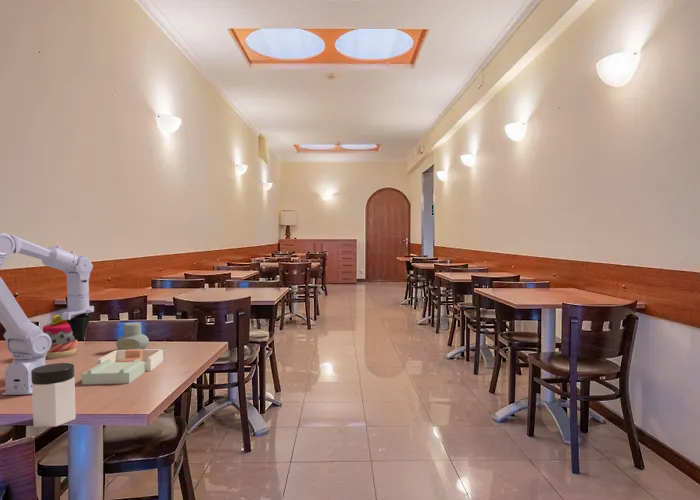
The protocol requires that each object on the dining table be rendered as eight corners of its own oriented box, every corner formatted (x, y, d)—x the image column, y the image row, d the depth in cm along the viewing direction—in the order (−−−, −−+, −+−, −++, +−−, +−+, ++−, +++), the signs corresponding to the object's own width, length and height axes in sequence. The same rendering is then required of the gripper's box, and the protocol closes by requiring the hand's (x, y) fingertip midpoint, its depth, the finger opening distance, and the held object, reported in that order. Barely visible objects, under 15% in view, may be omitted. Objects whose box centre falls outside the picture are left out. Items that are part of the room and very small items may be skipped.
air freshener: (113, 353, 165) (112, 326, 165) (121, 348, 174) (120, 322, 173) (144, 352, 167) (144, 325, 167) (151, 347, 175) (151, 321, 175)
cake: (35, 358, 160) (34, 315, 160) (61, 351, 170) (60, 310, 170) (60, 359, 158) (59, 316, 157) (84, 352, 168) (83, 311, 168)
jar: (84, 412, 108) (82, 362, 108) (66, 426, 100) (64, 371, 100) (43, 414, 108) (42, 363, 107) (22, 428, 99) (20, 373, 99)
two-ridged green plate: (129, 383, 131) (129, 369, 131) (82, 384, 130) (81, 370, 130) (145, 371, 143) (145, 358, 142) (102, 372, 142) (102, 359, 142)
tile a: (134, 368, 144) (134, 360, 144) (119, 368, 144) (119, 360, 144) (140, 364, 149) (139, 356, 149) (125, 365, 149) (125, 357, 148)
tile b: (139, 350, 149) (142, 348, 151) (125, 351, 148) (128, 349, 151) (139, 364, 149) (142, 362, 151) (125, 364, 149) (128, 362, 151)
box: (150, 371, 143) (150, 358, 143) (97, 372, 142) (97, 359, 142) (164, 360, 155) (164, 349, 155) (115, 362, 154) (115, 350, 154)
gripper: (79, 297, 134) (80, 344, 134) (103, 291, 148) (104, 334, 148) (53, 298, 133) (55, 345, 134) (80, 292, 148) (81, 334, 148)
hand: (79, 339), depth 141 cm, fingers closed
